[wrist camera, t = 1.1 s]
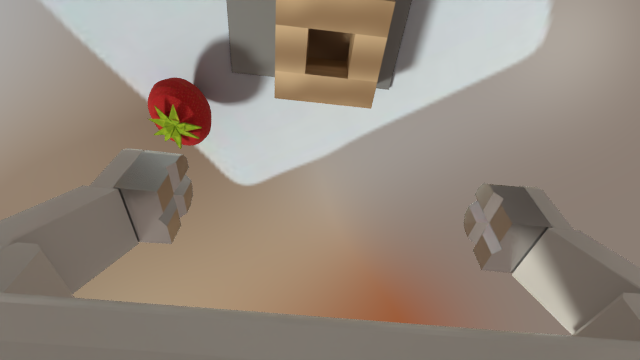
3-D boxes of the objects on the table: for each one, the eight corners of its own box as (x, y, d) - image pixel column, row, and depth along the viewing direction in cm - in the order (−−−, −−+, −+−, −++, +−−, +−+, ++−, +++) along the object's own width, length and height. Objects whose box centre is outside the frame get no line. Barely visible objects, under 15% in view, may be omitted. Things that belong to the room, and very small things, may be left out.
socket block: (283, -25, 31) (276, -13, 27) (387, -11, 31) (395, 1, 27) (280, 77, 37) (274, 98, 33) (367, 87, 38) (371, 108, 34)
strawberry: (204, 54, 36) (170, 95, 29) (232, 113, 41) (209, 162, 33) (157, 65, 37) (113, 109, 30) (190, 122, 42) (158, 171, 34)
